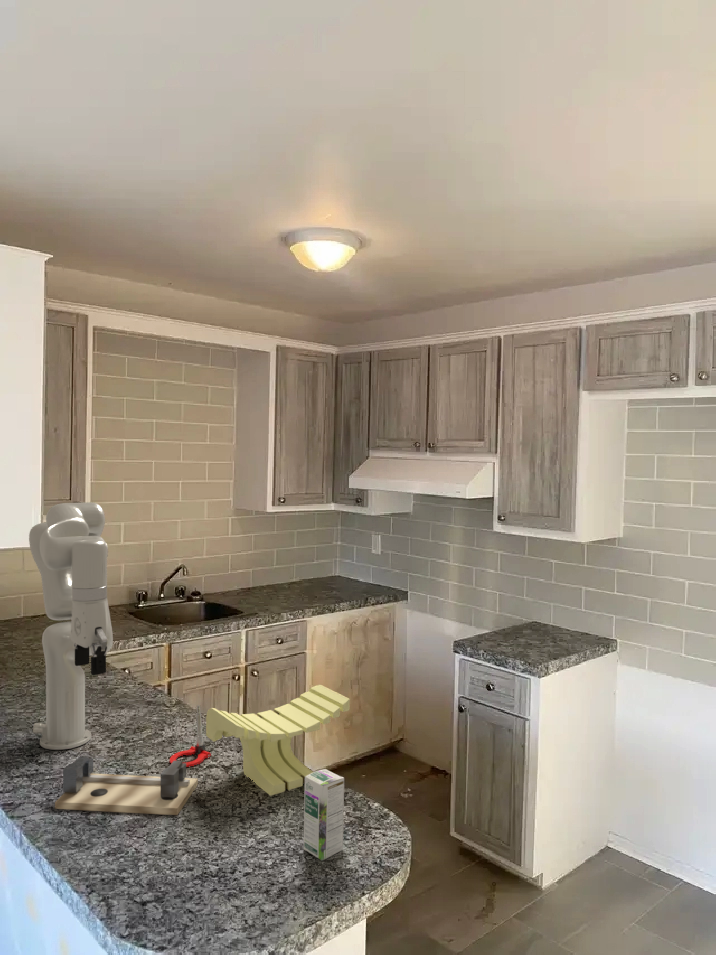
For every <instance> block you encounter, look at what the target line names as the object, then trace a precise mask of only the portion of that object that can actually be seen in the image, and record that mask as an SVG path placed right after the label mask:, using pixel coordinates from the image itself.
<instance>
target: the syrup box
mask: <svg viewBox="0 0 716 955" xmlns="http://www.w3.org/2000/svg"><path fill="white" fill-rule="evenodd" d="M303 795H304V800H303V802H304V806H303V807H304V809H303V813H304V814H303V851H306V852H308V853H309V854H311V855H312V856H314V857H315V858H317V859H319V860H320V861H321V862H322V861H325V860H327V859H329V858H330V857H332V856H334V855H336V854H338V853H340V852H341V851H343V850H344V812H345V810H344V809H345V808H344V807H345V801H344V800H345V777H343V776H341V775H338V774H336V773H334V772H332V771H330V770H329V769H326V768H324V769H320V770H316V771H313V773H311V774H309V775H307V776H305V784H304V794H303Z"/></svg>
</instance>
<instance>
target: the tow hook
mask: <svg viewBox="0 0 716 955" xmlns="http://www.w3.org/2000/svg"><path fill="white" fill-rule="evenodd" d="M195 715H196V717H195V718H196V736H195V739H196V744H195V745H194V746H193V745H191V746H190V748H189V749H186V750H182V751H178V752H176V753H173V754H172V755H171V756H170V758H169V764H170V763H171V764H172V762H173V761H177V760H178V759H179V758H178V757H180V756H182V757H184V756H183V755H186V756H192V754H193V755H195V753H196V755H197V754H198V755H197V758H196V759H194V760H191V761H186V762H185V761H184V762H183V761H182V763H186V767H189V766H193V767H195V766H194V765H196V766H198V765H200V764H202V763H203V762H204V760H205V759H209V758H208V757H210V756H211V757H212V753H211V752H210V751H207V750H206V744H204V735H203V730H202V729H203V728H202V713H201V705H199V704H198V705H196V714H195ZM211 757H210V758H211ZM177 758H178V759H177ZM180 758H181V757H180ZM176 759H177V760H176ZM171 764H170V765H171ZM197 764H198V765H197ZM189 768H190V767H189Z"/></svg>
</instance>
